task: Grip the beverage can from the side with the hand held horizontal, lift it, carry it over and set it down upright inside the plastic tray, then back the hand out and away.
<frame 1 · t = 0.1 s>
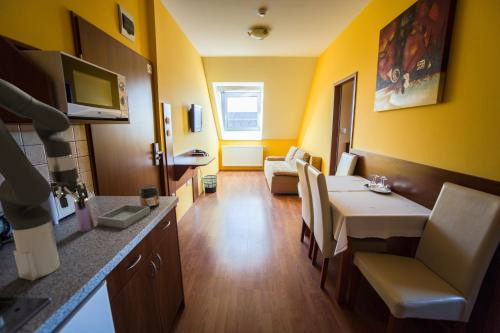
hand: (73, 208, 84), 17 cm above the counter, tool pointing down, fingers open, 8 cm apart
supplement container: (150, 206, 133), on the counter
tray: (125, 218, 115), on the counter
beverage can: (86, 229, 104), on the counter
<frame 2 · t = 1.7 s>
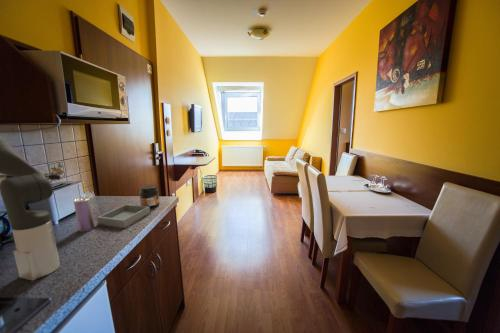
hand: (52, 179, 98), 25 cm above the counter, tool horizontal, fingers open, 8 cm apart
nothing on the counter moved.
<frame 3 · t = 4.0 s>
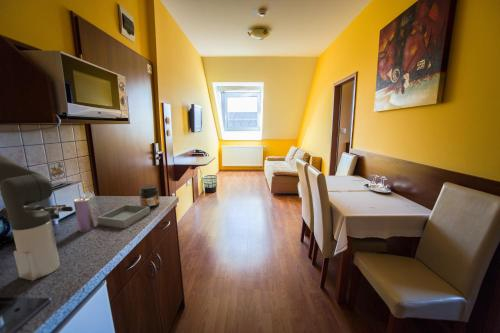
hand: (65, 212, 101), 9 cm above the counter, tool horizontal, fingers open, 8 cm apart
nothing on the counter moved.
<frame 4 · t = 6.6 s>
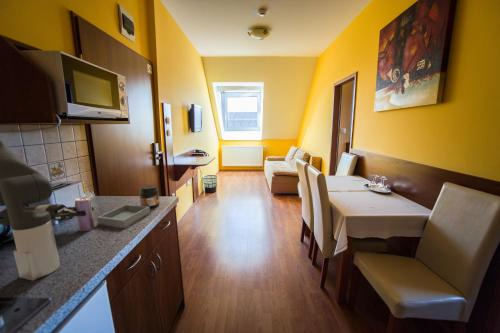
hand: (89, 211, 102), 9 cm above the counter, tool horizontal, fingers closed on beverage can, 5 cm apart
beverage can: (86, 229, 104), on the counter, touching gripper
everything else where it was.
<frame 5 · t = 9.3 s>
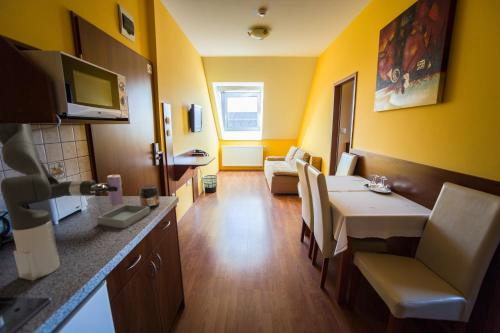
hand: (119, 187, 110), 18 cm above the counter, tool horizontal, fingers closed on beverage can, 5 cm apart
beverage can: (116, 204, 112), point 8 cm above the counter, touching gripper
everything else where it was.
when the fingers open (11 cm above the counter, at t = 12.0 s): beverage can drops 1 cm, resting on tray.
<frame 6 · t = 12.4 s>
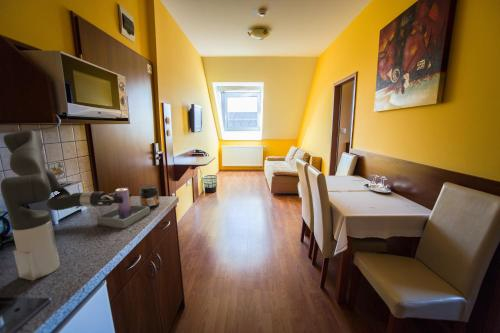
hand: (126, 197, 113), 11 cm above the counter, tool horizontal, fingers open, 8 cm apart
beverage can: (125, 216, 115), point 1 cm above the counter, touching tray
everything else where it was.
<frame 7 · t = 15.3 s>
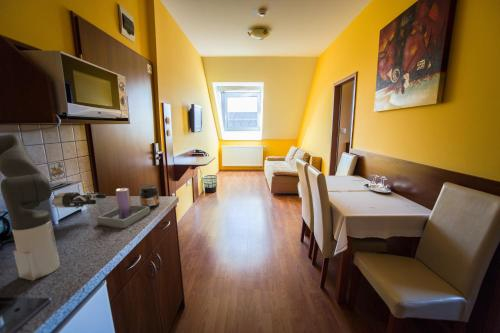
hand: (100, 198, 112), 12 cm above the counter, tool horizontal, fingers open, 8 cm apart
nothing on the counter moved.
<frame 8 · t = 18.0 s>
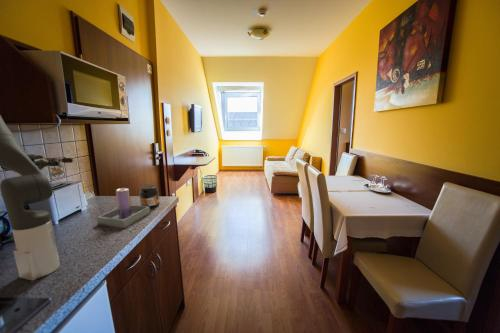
hand: (65, 161, 101), 32 cm above the counter, tool horizontal, fingers open, 8 cm apart
nothing on the counter moved.
at the end: beverage can inside the target area on the tray (0.4 cm from its centre), point 0.8 cm above the tray's base; beverage can tilted 0°; the gripper is holding nothing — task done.
